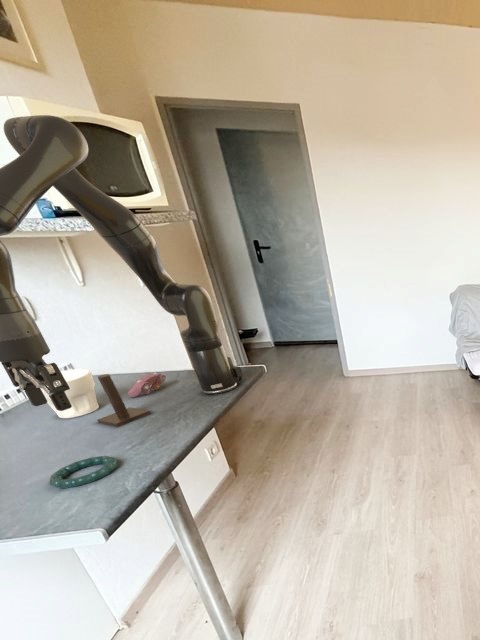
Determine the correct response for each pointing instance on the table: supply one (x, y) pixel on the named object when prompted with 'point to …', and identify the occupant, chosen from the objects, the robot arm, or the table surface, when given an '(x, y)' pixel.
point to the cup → (77, 394)
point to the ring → (59, 482)
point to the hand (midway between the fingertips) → (52, 406)
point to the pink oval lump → (147, 384)
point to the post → (118, 405)
